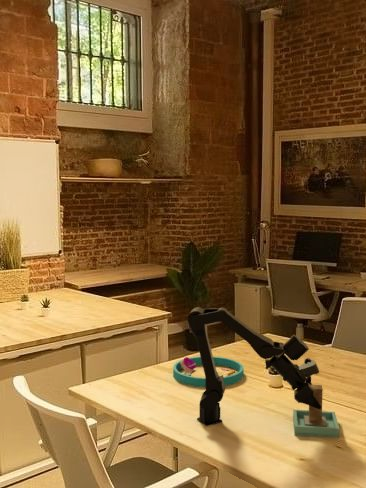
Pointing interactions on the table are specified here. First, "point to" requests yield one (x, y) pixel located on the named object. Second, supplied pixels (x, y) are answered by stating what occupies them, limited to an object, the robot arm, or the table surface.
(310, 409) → the handle post
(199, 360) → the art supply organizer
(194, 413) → the table surface
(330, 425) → the tray
